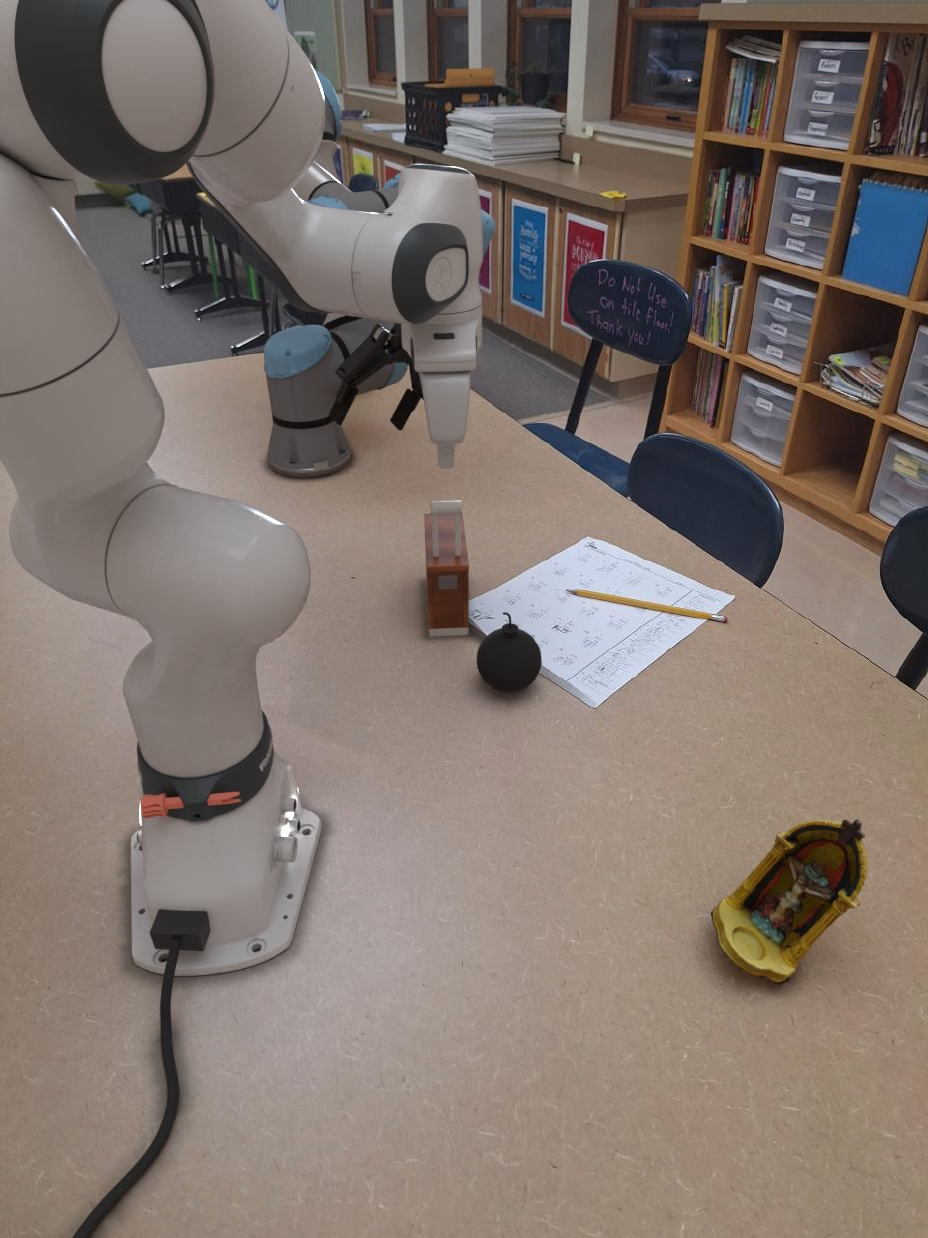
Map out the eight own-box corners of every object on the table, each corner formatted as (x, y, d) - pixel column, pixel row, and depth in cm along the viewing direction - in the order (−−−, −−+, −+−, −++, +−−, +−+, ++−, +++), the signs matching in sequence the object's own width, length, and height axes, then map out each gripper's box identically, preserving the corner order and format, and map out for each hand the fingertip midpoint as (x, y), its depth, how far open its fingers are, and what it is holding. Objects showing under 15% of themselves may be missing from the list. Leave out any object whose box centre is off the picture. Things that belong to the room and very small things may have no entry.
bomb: (495, 658, 111) (497, 579, 104) (551, 678, 107) (556, 598, 100) (464, 692, 105) (464, 612, 98) (521, 714, 102) (525, 633, 95)
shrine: (791, 892, 81) (830, 781, 73) (851, 966, 75) (901, 853, 66) (686, 929, 78) (714, 817, 69) (739, 1009, 72) (776, 896, 63)
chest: (468, 635, 115) (468, 569, 109) (428, 636, 115) (426, 570, 109) (462, 580, 126) (462, 518, 120) (426, 582, 126) (424, 519, 120)
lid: (468, 571, 109) (468, 510, 104) (427, 572, 108) (424, 512, 103) (462, 517, 120) (462, 461, 115) (424, 519, 120) (422, 462, 115)
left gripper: (411, 303, 102) (415, 414, 110) (414, 361, 85) (419, 487, 93) (464, 302, 102) (464, 413, 110) (478, 360, 85) (477, 485, 93)
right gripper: (381, 305, 119) (319, 431, 130) (492, 332, 138) (430, 440, 148) (352, 276, 122) (294, 402, 133) (465, 307, 141) (406, 414, 152)
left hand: (444, 448), depth 101 cm, fingers open, 8 cm apart
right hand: (366, 422), depth 141 cm, fingers open, 13 cm apart
